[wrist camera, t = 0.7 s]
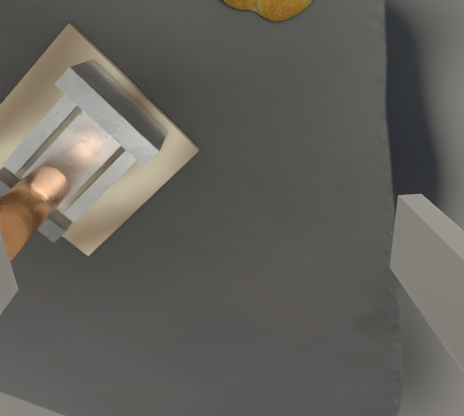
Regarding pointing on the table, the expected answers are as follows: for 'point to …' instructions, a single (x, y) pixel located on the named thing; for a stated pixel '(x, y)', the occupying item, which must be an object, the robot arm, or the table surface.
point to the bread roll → (271, 7)
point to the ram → (78, 150)
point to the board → (44, 99)
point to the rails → (34, 142)
